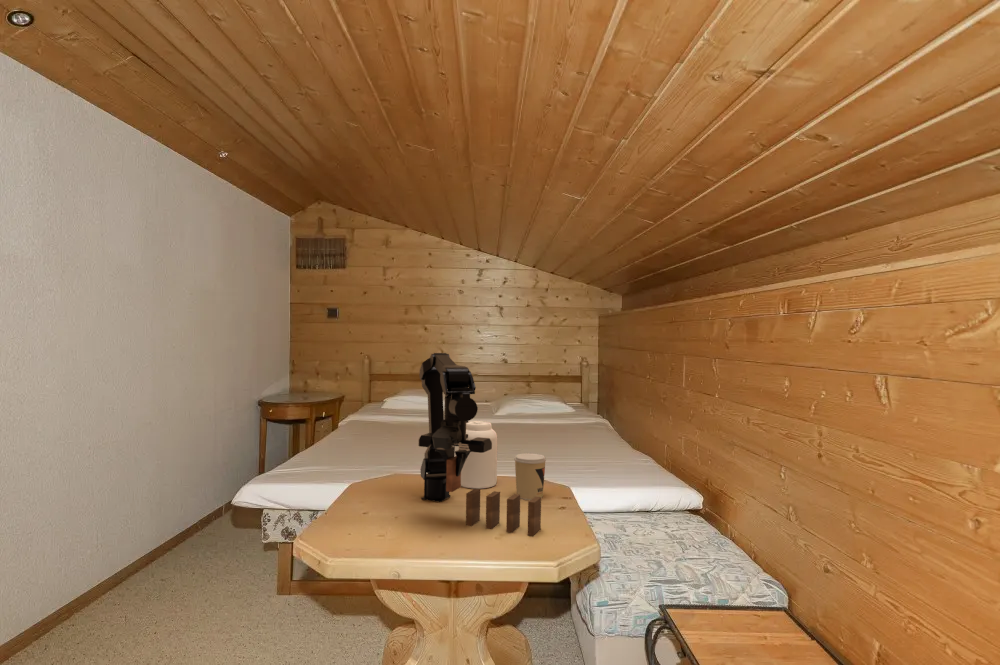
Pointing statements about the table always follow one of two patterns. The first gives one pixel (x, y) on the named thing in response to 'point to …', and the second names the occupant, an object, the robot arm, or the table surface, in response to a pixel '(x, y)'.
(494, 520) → the domino
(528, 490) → the coffee cup
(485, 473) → the white lidded jar
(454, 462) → the domino
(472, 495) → the domino
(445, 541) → the table surface
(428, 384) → the robot arm
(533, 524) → the domino
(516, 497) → the domino
